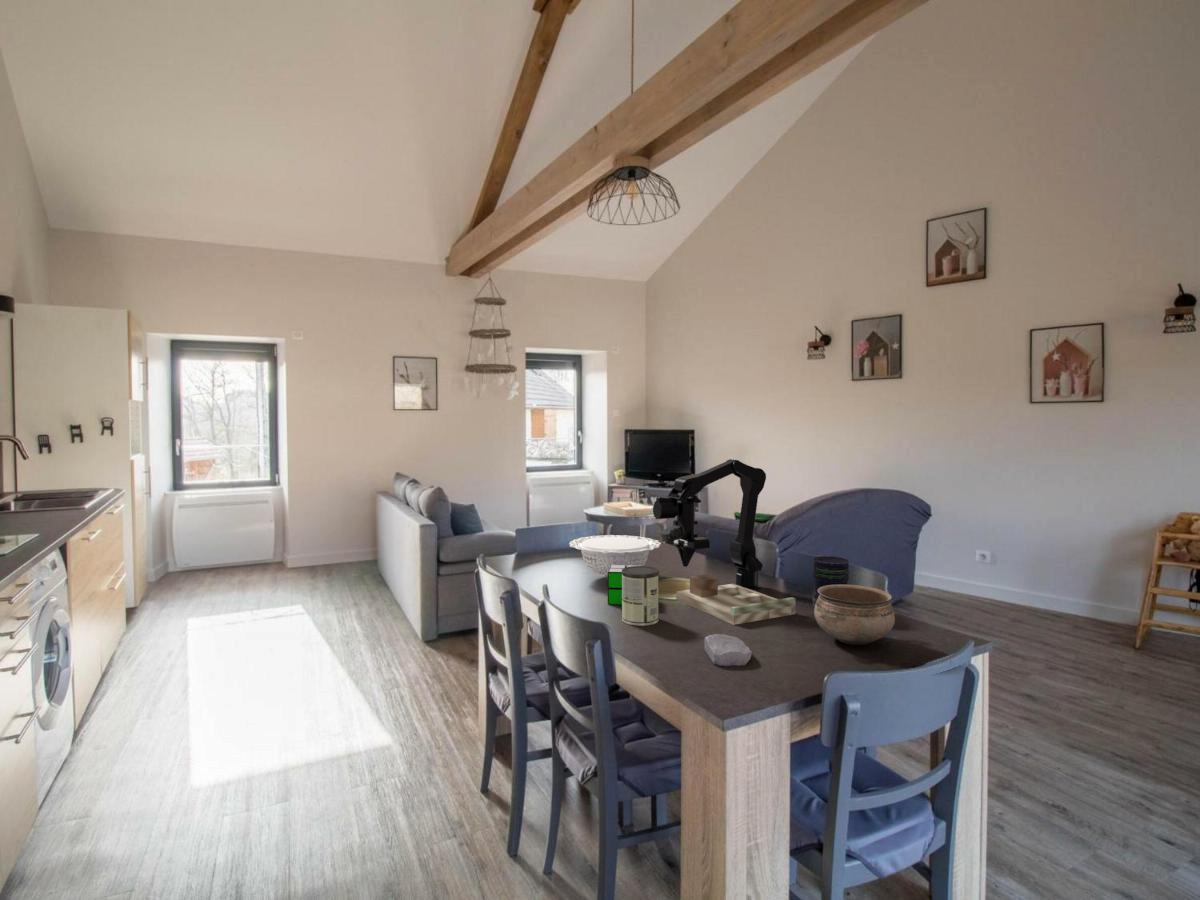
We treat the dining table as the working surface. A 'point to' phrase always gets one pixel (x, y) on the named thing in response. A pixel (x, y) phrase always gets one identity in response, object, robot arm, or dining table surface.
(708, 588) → the walnut block
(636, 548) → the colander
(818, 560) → the storage jar
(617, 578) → the puzzle cube
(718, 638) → the stone block
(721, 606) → the trap deck
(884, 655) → the dining table surface
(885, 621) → the cooking pot
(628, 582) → the coffee can
